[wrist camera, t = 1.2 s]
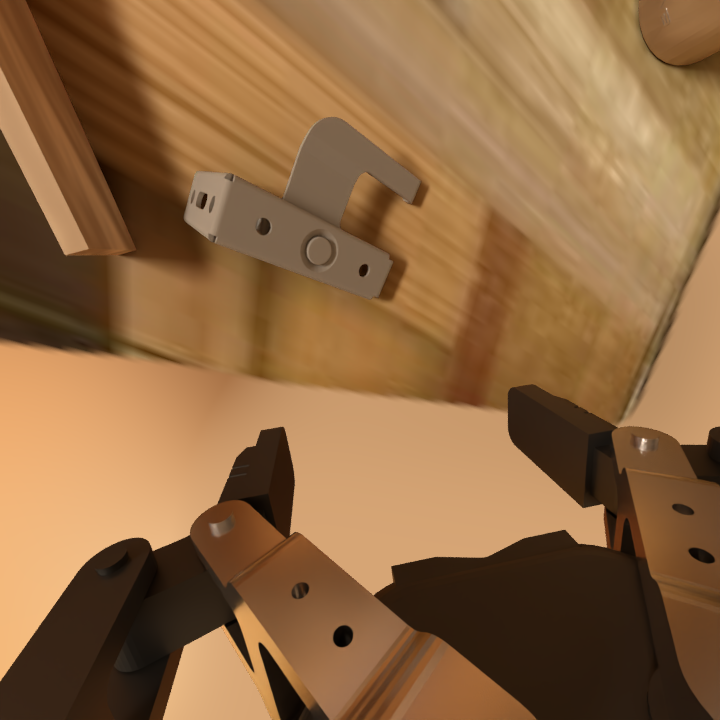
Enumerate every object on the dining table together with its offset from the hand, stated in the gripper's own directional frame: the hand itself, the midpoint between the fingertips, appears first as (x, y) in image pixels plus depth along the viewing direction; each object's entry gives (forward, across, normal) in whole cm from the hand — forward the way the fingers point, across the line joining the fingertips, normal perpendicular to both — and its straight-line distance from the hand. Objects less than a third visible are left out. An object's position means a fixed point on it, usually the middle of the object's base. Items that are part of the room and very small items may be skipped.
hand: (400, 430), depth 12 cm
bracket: (+21, +2, -11) cm, 24 cm away
